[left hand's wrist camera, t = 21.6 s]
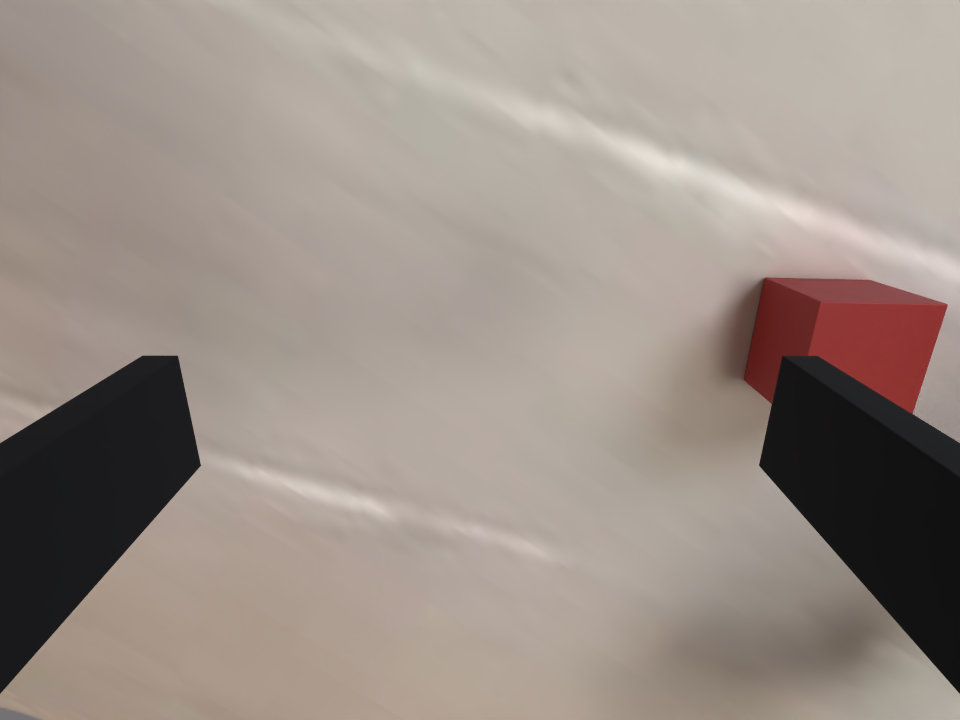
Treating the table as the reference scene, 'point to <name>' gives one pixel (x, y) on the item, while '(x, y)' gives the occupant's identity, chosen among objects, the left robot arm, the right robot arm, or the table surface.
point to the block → (846, 333)
